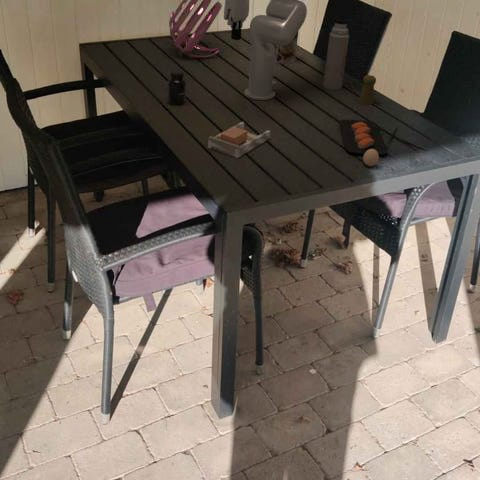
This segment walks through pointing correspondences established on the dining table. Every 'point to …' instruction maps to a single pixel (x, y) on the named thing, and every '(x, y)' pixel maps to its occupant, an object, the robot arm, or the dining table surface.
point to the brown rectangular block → (234, 136)
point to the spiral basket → (189, 26)
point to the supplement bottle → (176, 88)
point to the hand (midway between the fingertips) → (235, 39)
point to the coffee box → (286, 52)
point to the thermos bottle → (336, 55)
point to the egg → (371, 157)
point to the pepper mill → (367, 90)
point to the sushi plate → (365, 137)
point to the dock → (242, 147)
